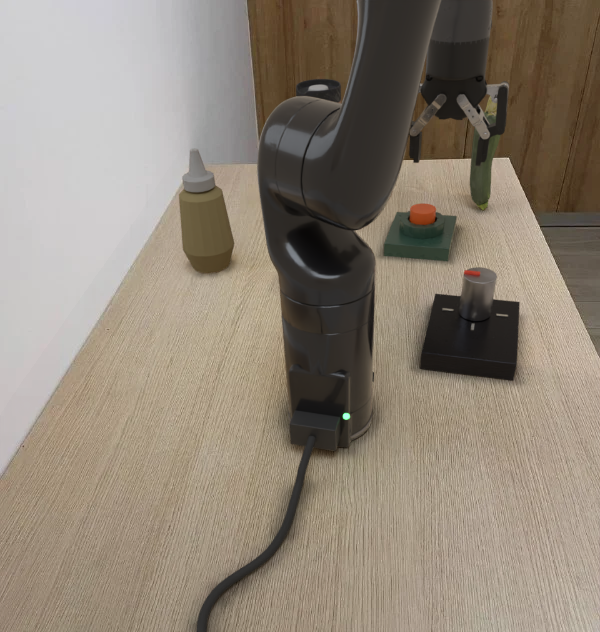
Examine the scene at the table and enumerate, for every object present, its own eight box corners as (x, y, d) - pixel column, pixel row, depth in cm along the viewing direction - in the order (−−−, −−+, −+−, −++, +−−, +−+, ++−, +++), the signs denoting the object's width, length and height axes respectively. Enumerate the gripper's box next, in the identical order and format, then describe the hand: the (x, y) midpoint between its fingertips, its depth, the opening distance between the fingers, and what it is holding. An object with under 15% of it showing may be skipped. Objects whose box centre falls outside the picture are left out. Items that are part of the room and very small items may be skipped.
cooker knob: (491, 306, 83) (498, 266, 80) (489, 323, 80) (496, 282, 77) (460, 303, 84) (465, 263, 81) (457, 319, 81) (462, 278, 78)
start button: (433, 227, 100) (434, 214, 98) (407, 225, 101) (408, 212, 99) (436, 216, 103) (437, 204, 101) (411, 214, 104) (412, 202, 102)
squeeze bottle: (243, 271, 99) (229, 153, 88) (193, 282, 97) (172, 163, 86) (228, 249, 105) (213, 136, 94) (180, 260, 103) (159, 146, 92)
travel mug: (343, 193, 121) (342, 78, 108) (341, 210, 115) (340, 90, 102) (302, 193, 122) (297, 79, 109) (298, 210, 116) (292, 91, 103)
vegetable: (463, 211, 112) (478, 88, 99) (466, 201, 115) (480, 81, 102) (489, 213, 111) (507, 89, 98) (491, 203, 114) (509, 81, 101)
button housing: (447, 261, 98) (450, 237, 96) (383, 256, 101) (384, 232, 98) (455, 228, 107) (458, 205, 105) (396, 223, 109) (397, 201, 107)
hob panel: (513, 381, 75) (517, 362, 74) (419, 369, 78) (421, 351, 76) (516, 317, 86) (520, 300, 84) (433, 308, 88) (435, 291, 87)
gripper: (396, 39, 78) (391, 170, 89) (517, 39, 75) (497, 176, 85) (407, 25, 84) (401, 150, 94) (520, 25, 80) (501, 155, 91)
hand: (447, 162), depth 90 cm, fingers open, 8 cm apart
